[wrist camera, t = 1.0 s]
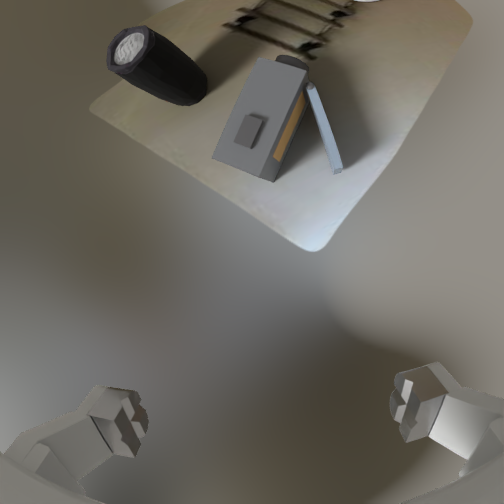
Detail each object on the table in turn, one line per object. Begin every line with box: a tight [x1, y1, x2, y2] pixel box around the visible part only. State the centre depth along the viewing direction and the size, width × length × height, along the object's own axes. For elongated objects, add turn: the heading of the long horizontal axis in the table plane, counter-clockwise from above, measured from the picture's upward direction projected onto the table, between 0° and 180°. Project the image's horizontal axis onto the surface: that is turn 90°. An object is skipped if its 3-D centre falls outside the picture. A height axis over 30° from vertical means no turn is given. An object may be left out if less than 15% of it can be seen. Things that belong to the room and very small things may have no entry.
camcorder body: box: [212, 55, 309, 182], centre depth 37 cm, size 19×7×11 cm, turn 157°
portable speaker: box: [107, 25, 207, 106], centre depth 36 cm, size 9×9×20 cm
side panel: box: [305, 82, 343, 175], centre depth 36 cm, size 13×1×7 cm, turn 17°
